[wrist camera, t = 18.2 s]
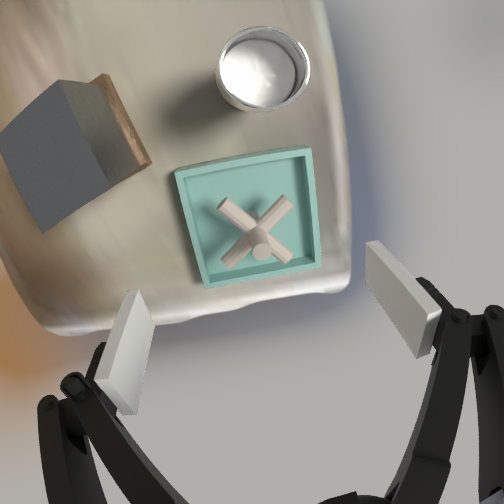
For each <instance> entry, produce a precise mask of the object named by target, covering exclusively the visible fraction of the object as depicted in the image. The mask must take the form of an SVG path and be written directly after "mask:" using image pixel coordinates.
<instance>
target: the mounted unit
mask: <svg viewBox="0 0 504 504" xmlns="http://www.w3.org/2000/svg"><path fill="white" fill-rule="evenodd" d="M0 152H1V155H2V157H3V159H4V161H5V164H6V166H7V168H8V170H9V172H10V174H11V176H12V178H13V180H14V182H15V184H16V186H17V188H18V190H19V192H20V194H21V196H22V198H23V200H24V202H25V204H26V205H27V207H28V209H29V211H30V213H31V214H32V216H33V218H34V220H35V221H36V223H37V225H38V227H39V228H40V230H41V232H42V233H45V232H46V231H47V230H49V229H50V228H51V227H53V226H54V225H56V224H57V223H58V222H60V221H61V220H63V219H64V218H66V217H67V216H68V215H70V214H71V213H73V212H74V211H76V210H77V209H79V208H80V207H82V206H83V205H85V204H86V203H88V202H90V201H91V200H93V199H94V198H96V197H97V196H99V195H100V194H102V193H104V192H105V191H107V190H109V189H110V188H112V187H113V186H114V185H116V184H118V183H119V182H121V181H123V180H125V179H126V178H128V177H130V176H131V175H133V174H135V173H137V172H138V171H140V170H142V169H144V168H146V167H147V166H149V165H150V164H152V161H151V160H150V158H149V156H148V154H147V152H146V150H145V148H144V146H143V144H142V142H141V140H140V138H139V136H138V134H137V132H136V130H135V128H134V126H133V124H132V122H131V120H130V118H129V116H128V114H127V112H126V110H125V108H124V106H123V104H122V102H121V100H120V98H119V96H118V94H117V91H116V89H115V87H114V85H113V83H112V81H111V79H110V77H109V75H107V74H101V75H100V76H98V77H97V78H95V79H94V80H92V81H91V82H89V83H83V82H76V81H68V80H57V81H56V82H55V83H54V84H52V85H51V86H50V87H49V88H48V89H46V90H45V91H44V92H43V93H42V94H40V95H39V96H38V97H37V98H36V99H35V100H34V101H32V102H31V103H30V104H29V105H28V106H27V107H26V108H25V109H24V110H23V111H22V112H21V113H20V114H18V115H17V116H16V117H15V118H14V119H13V120H12V121H11V122H10V123H9V124H8V125H7V126H6V127H5V128H4V130H3V131H2V132H1V133H0Z"/></svg>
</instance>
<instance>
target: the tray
mask: <svg viewBox="0 0 504 504" xmlns="http://www.w3.org/2000/svg"><path fill="white" fill-rule="evenodd" d="M174 174H175V178H176V182H177V186H178V190H179V194H180V198H181V202H182V206H183V210H184V214H185V218H186V222H187V226H188V230H189V233H190V237H191V241H192V244H193V248H194V252H195V255H196V259H197V263H198V266H199V270H200V273H201V277H202V280H203V284H204V287H205V289H209V288H215V287H220V286H226V285H231V284H236V283H242V282H247V281H252V280H257V279H262V278H268V277H273V276H278V275H283V274H288V273H293V272H298V271H303V270H308V269H312V268H317V267H322V265H321V249H320V235H319V222H318V210H317V199H316V189H315V179H314V169H313V161H312V152H311V148H310V147H308V146H305V145H300V146H293V147H286V148H279V149H273V150H266V151H260V152H254V153H249V154H243V155H237V156H232V157H227V158H222V159H217V160H212V161H207V162H202V163H198V164H193V165H189V166H184V167H180V168H177V170H176V171H175V172H174ZM282 194H283V195H285V196H286V197H287V198H288V199H289V200H290V201H291V202H292V203H293V204H294V207H293V208H292V209H291V210H290V211H289V212H288V213H287V214H286V215H285V216H284V217H283V218H282V219H281V220H280V221H279V222H278V223H277V224H276V225H275V226H274V227H273V228H272V229H271V230H270V231H269V232H270V233H271V234H272V235H273V236H274V237H275V238H277V239H278V240H279V241H280V242H281V243H282V244H284V245H285V246H286V247H287V248H288V249H289V250H290V251H292V252H293V256H292V258H291V260H290V261H289V262H288V263H286V264H282V263H281V262H280V261H279V260H277V259H276V258H275V257H274V256H272V255H270V257H269V258H268V259H266V260H257V259H256V258H255V257H254V256H253V253H252V249H251V250H250V251H249V252H248V253H247V255H246V256H245V257H244V258H243V259H242V260H241V261H240V262H239V263H238V264H237V265H236V266H235V267H234V268H233V269H229V268H228V267H226V266H225V265H224V264H223V262H222V261H221V257H222V256H223V255H224V254H225V253H226V252H227V251H228V250H229V249H230V248H231V247H232V246H233V245H234V244H235V243H236V242H237V241H238V240H239V239H240V238H241V237H242V235H243V234H244V232H243V231H242V230H241V229H239V228H238V227H237V226H236V225H235V224H233V223H232V222H231V221H230V220H228V219H227V218H226V217H225V216H224V215H222V214H221V213H220V212H219V211H217V210H216V208H217V206H218V205H219V203H220V202H221V201H222V200H223V199H224V198H225V197H228V198H229V199H231V200H232V201H233V202H234V203H235V204H237V205H238V206H239V207H240V208H241V209H242V210H244V211H245V212H247V211H249V210H255V211H257V212H258V214H259V217H261V216H262V215H263V214H264V213H265V212H266V211H267V210H268V209H269V208H270V207H271V206H272V204H273V203H274V202H275V201H276V200H277V199H278V198H279V197H280V196H281V195H282Z"/></svg>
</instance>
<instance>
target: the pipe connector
mask: <svg viewBox="0 0 504 504" xmlns="http://www.w3.org/2000/svg"><path fill="white" fill-rule="evenodd" d="M293 207H294V204H293V203H292V202H291V201H290V200H289V199H288V198H287V197H286V196H285V195H283V194H282V195H281V196H280V197H279V198H278V199H277V200H276V201H275V202H274V203H273V204H272V206H271V207H270V208H269V209H268V210H267V211H266V212H265V213H264V214H263V215H262V216H261V217H259V214H258V212H257V211H255V210H249V211H247V212H245V211H244V210H242V209H241V208H240V207H239V206H238V205H237V204H235V203H234V202H233V201H232V200H231V199H229V198H228V197H225V198H224V199H223V200H222V201H221V202H220V203H219V205H218V206H217V208H216V210H217V211H219V212H220V213H221V214H222V215H224V216H225V217H226V218H227V219H228V220H230V221H231V222H232V223H233V224H235V225H236V226H237V227H238V228H239V229H241V230H242V231H243V232H244V234H243V235H242V237H241V238H240V239H239V240H238V241H237V242H236V243H235V244H234V245H233V246H232V247H231V248H230V249H229V250H228V251H227V252H226V253H225V254H224V255H223V256H222V257H221V261H222V262H223V264H224V265H225V266H226V267H228V268H229V269H233V268H234V267H235V266H236V265H237V264H238V263H239V262H240V261H241V260H242V259H243V258H244V257H245V256H246V255H247V253H248V252H249V251H250V250H251V249H252V253H253V256H254V257H255V258H256V259H257V260H266V259H268V258H269V257H270V255H272V256H274V257H275V258H276V259H277V260H279V261H280V262H281V263H282V264H286V263H288V262H289V261H290V260H291V258H292V256H293V252H292V251H290V250H289V249H288V248H287V247H286V246H285V245H284V244H282V243H281V242H280V241H279V240H278V239H277V238H275V237H274V236H273V235H272V234H271V233H270V232H269V231H270V230H271V229H272V228H273V227H274V226H275V225H276V224H277V223H278V222H279V221H280V220H281V219H282V218H283V217H284V216H285V215H286V214H287V213H288V212H289V211H290V210H291V209H292V208H293Z"/></svg>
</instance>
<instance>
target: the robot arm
mask: <svg viewBox="0 0 504 504" xmlns="http://www.w3.org/2000/svg"><path fill="white" fill-rule="evenodd" d="M365 273H366V274H365V283H366V284H367V286H368V287H369V288H370V290H371V292H372V293H373V294H374V296H375V297H376V299H377V300H378V301H379V303H380V304H381V306H382V307H383V309H384V310H385V312H386V313H387V315H388V316H389V318H390V319H391V321H392V322H393V323H394V325H395V326H396V328H397V329H398V331H399V332H400V334H401V336H402V337H403V339H404V340H405V342H406V343H407V345H408V346H409V348H410V349H411V351H412V353H413V354H414V356H415V357H416V359H417V358H419V357H422V356H425V355H427V354H429V353H430V351H431V347H432V345H433V346H434V348H435V349H436V353H435V355H434V358H433V361H432V364H431V365H432V369H431V373H430V377H429V381H428V385H427V388H426V392H425V396H424V399H423V402H422V406H421V409H420V412H419V415H418V419H417V422H416V424H415V427H414V430H413V433H412V436H411V438H410V441H409V444H408V447H407V449H406V452H405V454H404V457H403V459H402V462H401V464H400V466H399V469H398V471H397V474H396V476H395V478H394V479H393V481H392V483H391V485H390V487H389V488H388V490H387V492H386V494H385V497H384V498H381V497H377V496H371V495H357V493H356V491H355V492H351V493H348V494H345V495H341V496H337V497H334V498H330V499H327V500H325V501H323V502H321V503H319V504H438V503H439V500H440V498H441V495H442V492H443V490H444V487H445V484H446V481H447V478H448V475H449V472H450V468H451V463H450V462H449V459H450V455H451V452H452V448H453V444H454V441H455V437H456V433H457V429H458V424H459V420H460V415H461V410H462V405H463V400H464V394H465V388H466V382H467V375H468V367H469V359H470V357H471V362H472V368H473V375H474V383H475V390H476V400H477V412H478V427H479V490H478V492H479V504H504V309H503V308H502V307H500V306H498V305H489V306H488V307H487V308H486V309H485V311H484V314H482V315H470V313H468V312H467V311H466V310H463V309H457V308H454V307H453V306H452V305H451V304H450V303H449V302H448V300H446V298H445V297H444V296H443V295H442V294H441V293H439V291H438V290H437V289H436V288H435V287H434V285H432V283H431V282H430V281H428V280H426V279H424V278H422V277H419V278H416V279H415V278H413V276H412V275H411V274H410V273H409V272H408V271H407V270H406V269H405V268H404V267H403V266H402V265H401V264H400V263H399V262H398V260H397V259H396V258H395V257H394V256H393V255H392V254H391V253H390V252H389V251H388V250H387V249H386V248H385V247H384V246H383V245H382V244H381V243H380V242H379V241H378V240H376V241H372V242H368V243H366V272H365ZM154 328H155V324H154V322H153V320H152V318H151V316H150V313H149V311H148V309H147V307H146V305H145V302H144V300H143V298H142V296H141V293H140V291H139V289H136V290H131V291H127V293H126V295H125V297H124V300H123V302H122V305H121V307H120V309H119V312H118V314H117V317H116V320H115V322H114V325H113V327H112V330H111V332H110V335H109V338H108V341H107V342H101V344H100V345H99V346H98V347H97V348H96V350H95V352H94V355H93V358H92V360H91V364H90V366H89V368H88V371H87V374H86V377H85V378H84V376H83V375H82V374H81V373H79V372H72V373H70V374H68V375H67V376H66V377H64V379H63V380H62V382H61V385H60V389H61V391H62V392H63V393H64V394H65V396H66V397H67V398H66V399H62V400H58V399H57V398H56V397H55V396H54V395H47V396H45V397H43V398H42V399H41V401H40V402H39V404H38V407H37V415H38V432H39V444H40V453H41V461H42V469H43V475H44V480H45V486H46V492H47V497H48V502H49V504H107V501H106V498H105V496H104V493H103V489H102V487H101V483H100V480H99V477H98V474H97V470H96V467H95V463H94V459H93V456H92V452H91V448H90V444H89V440H88V437H89V439H90V441H91V443H92V444H93V446H94V448H95V450H96V451H97V453H98V455H99V457H100V458H101V460H102V462H103V463H104V465H105V466H106V468H107V469H108V471H109V473H110V474H111V476H112V477H113V479H114V480H115V482H116V483H117V485H118V486H119V488H120V489H121V491H122V492H123V494H124V495H125V496H126V498H127V499H128V501H129V502H130V503H131V504H189V503H188V502H187V501H186V500H185V499H184V498H183V497H182V496H181V495H180V494H179V493H178V492H177V491H176V490H175V489H174V488H173V487H172V485H171V484H170V483H169V482H168V481H167V480H166V479H165V477H164V476H163V475H162V474H161V473H160V472H159V471H158V469H157V468H156V467H155V466H154V465H153V464H152V462H151V461H150V460H149V459H148V457H147V456H146V455H145V453H144V452H143V451H142V450H141V448H140V447H139V446H138V444H136V442H135V441H134V439H133V438H132V437H131V435H130V434H129V432H128V431H127V430H126V428H125V427H124V425H123V424H122V423H121V421H120V420H119V418H118V417H117V416H116V412H117V409H118V410H119V411H120V412H121V414H122V415H137V411H138V405H139V399H140V394H141V389H142V384H143V379H144V373H145V369H146V363H147V359H148V354H149V350H150V345H151V341H152V336H153V332H154Z"/></svg>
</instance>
